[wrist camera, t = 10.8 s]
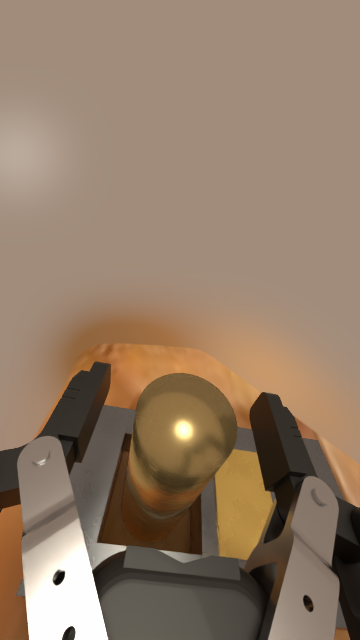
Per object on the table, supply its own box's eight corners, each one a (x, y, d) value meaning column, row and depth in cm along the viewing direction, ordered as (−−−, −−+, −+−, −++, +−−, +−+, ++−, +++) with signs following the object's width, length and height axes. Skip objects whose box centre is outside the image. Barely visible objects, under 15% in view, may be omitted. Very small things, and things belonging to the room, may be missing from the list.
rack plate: (300, 454, 21) (319, 439, 20) (364, 631, 13) (406, 634, 11) (96, 422, 20) (95, 402, 18) (28, 598, 12) (14, 595, 10)
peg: (182, 471, 18) (230, 381, 11) (179, 546, 15) (246, 482, 8) (130, 463, 18) (146, 366, 11) (113, 538, 14) (122, 463, 7)
